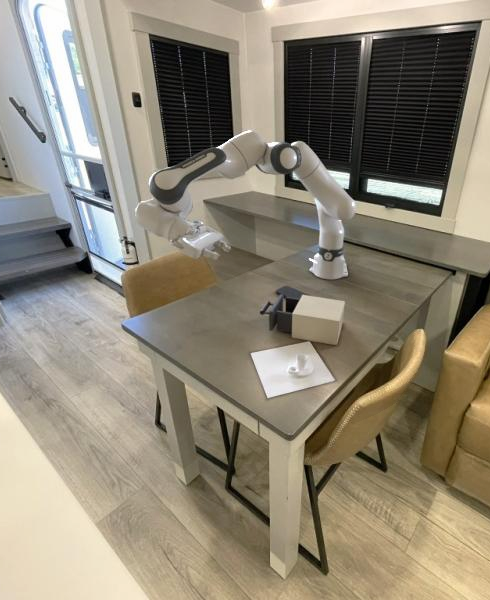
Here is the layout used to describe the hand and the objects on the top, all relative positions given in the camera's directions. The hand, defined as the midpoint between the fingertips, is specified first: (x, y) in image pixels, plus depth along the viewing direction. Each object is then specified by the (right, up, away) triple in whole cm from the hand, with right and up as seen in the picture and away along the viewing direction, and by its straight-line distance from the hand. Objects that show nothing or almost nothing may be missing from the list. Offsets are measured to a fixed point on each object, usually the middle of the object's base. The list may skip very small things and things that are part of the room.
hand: (224, 253), depth 107 cm
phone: (+20, -13, +30) cm, 39 cm away
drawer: (+20, -24, +10) cm, 33 cm away
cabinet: (+31, -26, +9) cm, 41 cm away
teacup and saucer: (+22, -35, -8) cm, 43 cm away
